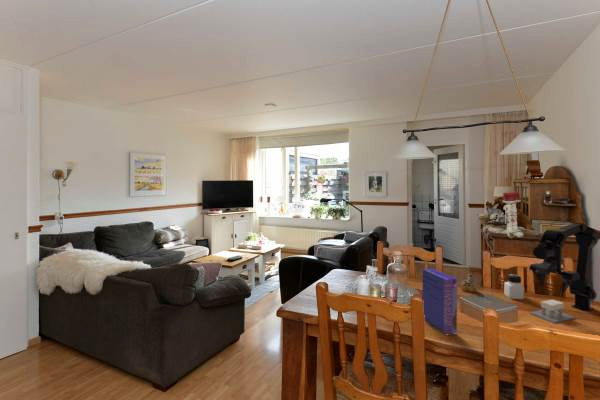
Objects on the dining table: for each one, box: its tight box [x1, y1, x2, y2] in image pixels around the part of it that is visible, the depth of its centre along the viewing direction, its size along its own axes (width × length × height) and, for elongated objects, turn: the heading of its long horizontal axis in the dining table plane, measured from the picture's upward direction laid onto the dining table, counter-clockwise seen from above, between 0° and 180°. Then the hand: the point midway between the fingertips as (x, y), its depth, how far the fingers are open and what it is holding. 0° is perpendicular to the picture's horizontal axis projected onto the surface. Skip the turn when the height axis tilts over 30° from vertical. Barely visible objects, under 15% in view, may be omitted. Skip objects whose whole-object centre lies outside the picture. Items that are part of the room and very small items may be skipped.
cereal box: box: [422, 267, 458, 335], centre depth 141 cm, size 17×5×24 cm, turn 12°
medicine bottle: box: [503, 274, 525, 300], centre depth 175 cm, size 7×7×12 cm
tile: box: [529, 309, 576, 324], centre depth 150 cm, size 14×11×1 cm
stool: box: [540, 299, 565, 318], centre depth 150 cm, size 5×8×6 cm, turn 109°
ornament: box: [460, 274, 478, 294], centre depth 185 cm, size 8×6×10 cm
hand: (552, 289), depth 149 cm, fingers open, 9 cm apart
